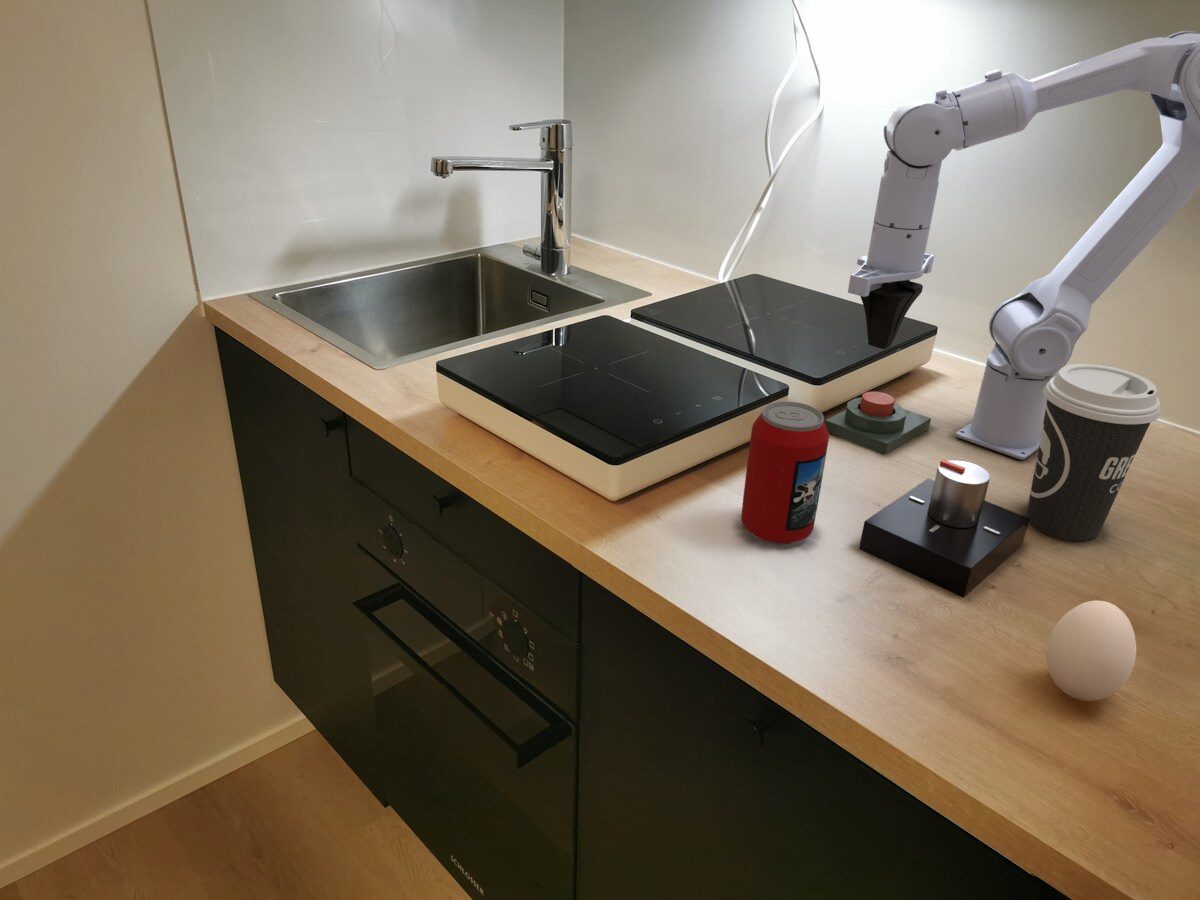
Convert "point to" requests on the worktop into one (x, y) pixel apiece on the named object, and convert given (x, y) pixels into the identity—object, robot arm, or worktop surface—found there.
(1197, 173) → the robot arm
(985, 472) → the knob
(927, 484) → the panel
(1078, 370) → the coffee cup
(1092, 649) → the egg
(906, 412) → the button block
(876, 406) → the button
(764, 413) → the beverage can
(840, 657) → the worktop surface
